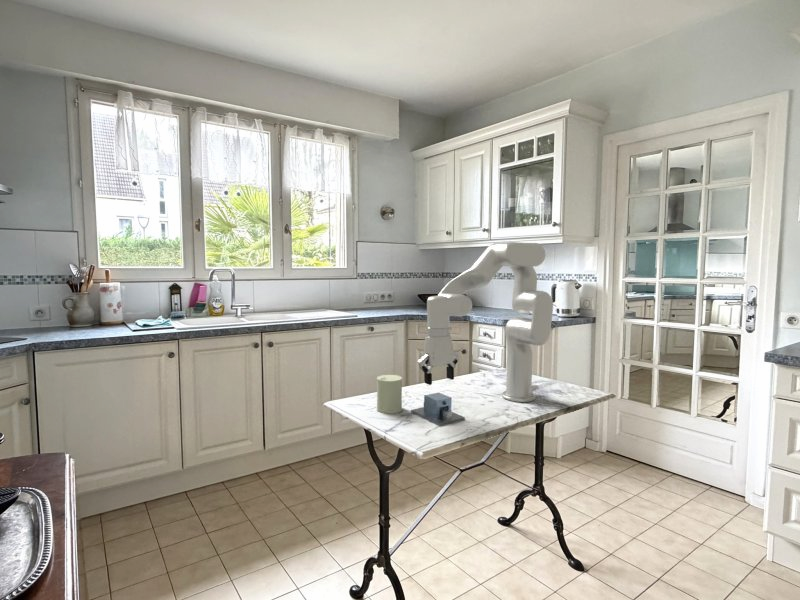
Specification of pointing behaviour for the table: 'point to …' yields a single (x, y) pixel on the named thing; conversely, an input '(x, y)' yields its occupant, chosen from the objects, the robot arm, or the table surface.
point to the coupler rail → (444, 416)
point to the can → (389, 393)
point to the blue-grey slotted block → (436, 403)
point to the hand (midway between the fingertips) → (439, 381)
